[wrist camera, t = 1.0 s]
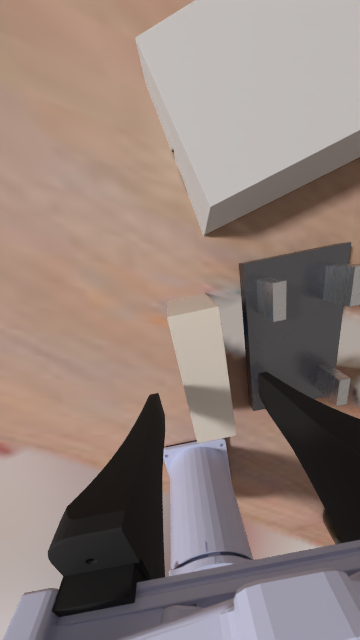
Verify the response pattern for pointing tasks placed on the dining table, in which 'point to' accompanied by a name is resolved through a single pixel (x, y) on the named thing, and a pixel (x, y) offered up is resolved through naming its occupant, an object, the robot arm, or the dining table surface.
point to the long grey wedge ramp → (255, 97)
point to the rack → (298, 319)
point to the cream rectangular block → (202, 365)
